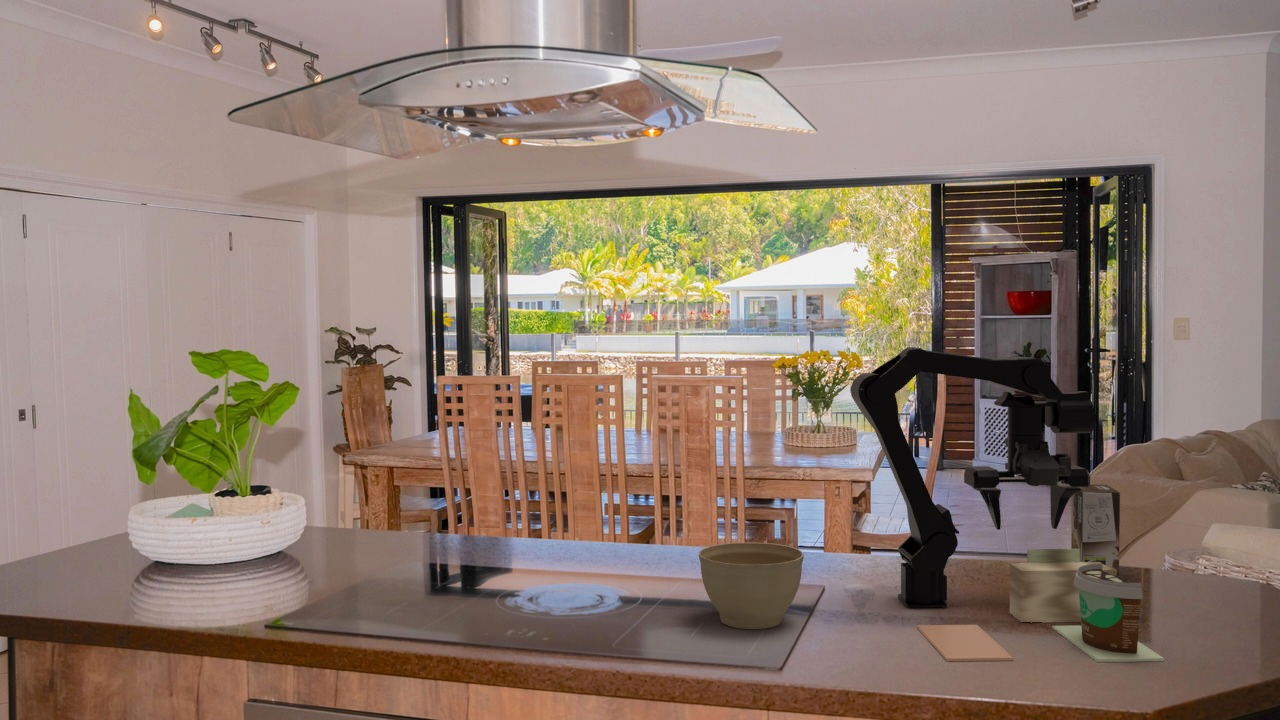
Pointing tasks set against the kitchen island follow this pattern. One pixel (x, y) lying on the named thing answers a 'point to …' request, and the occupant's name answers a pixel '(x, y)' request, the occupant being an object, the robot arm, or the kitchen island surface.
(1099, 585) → the food container
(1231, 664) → the kitchen island surface
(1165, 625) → the kitchen island surface
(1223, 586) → the kitchen island surface
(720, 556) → the planter bowl
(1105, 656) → the sage bay
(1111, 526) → the coffee box
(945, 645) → the plate
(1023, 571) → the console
